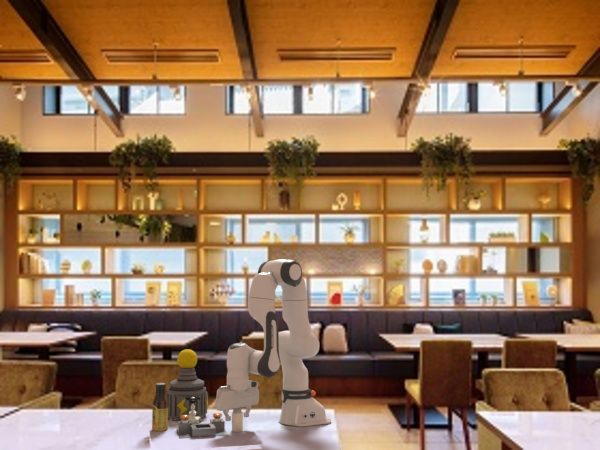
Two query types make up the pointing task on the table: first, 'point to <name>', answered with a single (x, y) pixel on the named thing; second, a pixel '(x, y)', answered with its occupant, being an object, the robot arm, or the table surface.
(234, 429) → the cylinder
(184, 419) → the plunger
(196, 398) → the valve
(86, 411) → the table surface
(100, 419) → the table surface
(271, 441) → the table surface
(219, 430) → the housing
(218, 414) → the plunger
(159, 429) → the sauce bottle
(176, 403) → the decorative lamp
